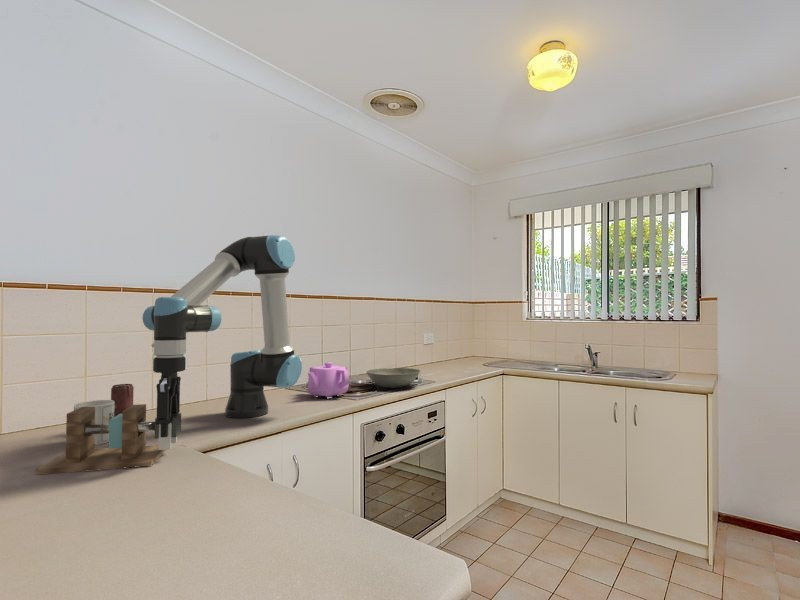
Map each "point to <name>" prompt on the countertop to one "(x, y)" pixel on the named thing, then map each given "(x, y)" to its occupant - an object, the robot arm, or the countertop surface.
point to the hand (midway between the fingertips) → (168, 445)
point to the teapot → (328, 380)
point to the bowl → (393, 376)
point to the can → (122, 397)
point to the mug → (100, 415)
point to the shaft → (140, 427)
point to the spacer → (115, 432)
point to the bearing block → (88, 458)
